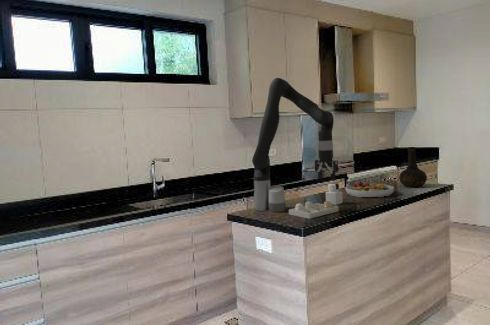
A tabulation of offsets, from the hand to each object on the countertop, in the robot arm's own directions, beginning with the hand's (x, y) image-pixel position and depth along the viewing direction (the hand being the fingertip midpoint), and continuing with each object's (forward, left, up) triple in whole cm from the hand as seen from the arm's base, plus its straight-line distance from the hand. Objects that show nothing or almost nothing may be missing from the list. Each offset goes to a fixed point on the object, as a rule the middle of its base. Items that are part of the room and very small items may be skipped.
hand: (326, 179), depth 204 cm
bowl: (-15, +58, -18) cm, 63 cm away
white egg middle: (-7, -7, -17) cm, 20 cm away
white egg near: (-7, -14, -17) cm, 23 cm away
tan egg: (0, 0, -17) cm, 17 cm away
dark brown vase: (-9, +100, -18) cm, 102 cm away
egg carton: (-3, -7, -18) cm, 19 cm away
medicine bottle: (-13, +21, -18) cm, 31 cm away
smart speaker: (-22, -16, -18) cm, 33 cm away
